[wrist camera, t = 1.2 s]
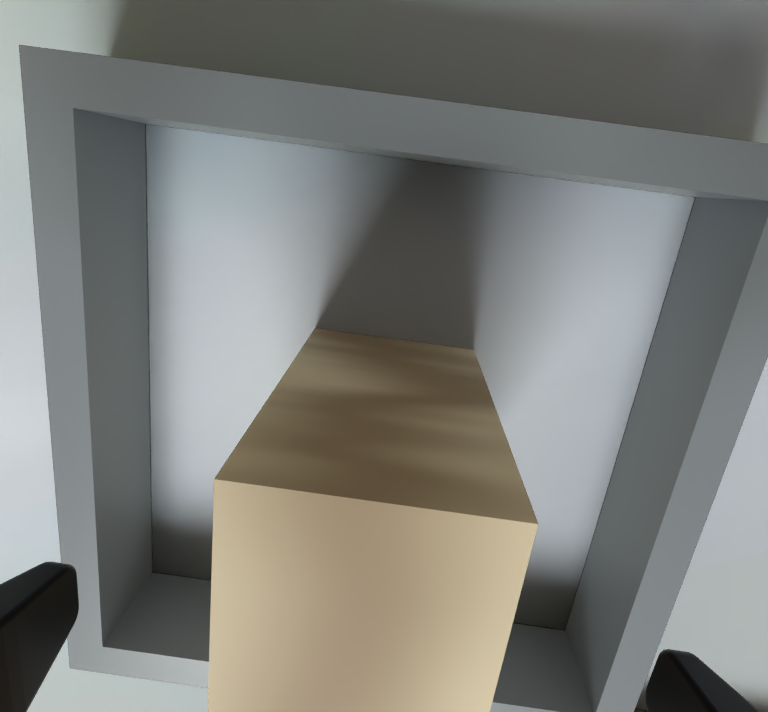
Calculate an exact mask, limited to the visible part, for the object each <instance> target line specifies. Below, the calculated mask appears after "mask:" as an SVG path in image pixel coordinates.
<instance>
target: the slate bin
mask: <svg viewBox="0 0 768 712" xmlns="http://www.w3.org/2000/svg"><path fill="white" fill-rule="evenodd" d="M19 52H20V64H21V77H22V89H23V101H24V113H25V126H26V138H27V150H28V162H29V175H30V187H31V199H32V211H33V224H34V236H35V248H36V260H37V273H38V285H39V297H40V309H41V322H42V334H43V346H44V358H45V371H46V383H47V395H48V408H49V420H50V432H51V444H52V457H53V469H54V481H55V493H56V506H57V518H58V530H59V542H60V555H61V563H63V564H70V565H72V566H74V567H75V569H76V573H77V584H78V598H79V611H78V616H77V619H76V621H75V624H74V626H73V628H72V629H71V631H70V633H69V635H68V637H67V640H68V653H69V665H70V669H77V670H84V671H91V672H98V673H105V674H112V675H119V676H126V677H133V678H140V679H147V680H154V681H161V682H168V683H175V684H182V685H189V686H196V687H204V688H208V679H209V643H210V608H211V581H209V580H202V579H195V578H188V577H181V576H174V575H167V574H159V573H152V533H151V468H150V403H149V338H148V273H147V208H146V143H145V124H150V125H158V126H165V127H173V128H180V129H188V130H195V131H203V132H210V133H218V134H225V135H233V136H240V137H248V138H255V139H263V140H270V141H278V142H285V143H293V144H300V145H308V146H315V147H323V148H330V149H338V150H345V151H353V152H360V153H368V154H375V155H383V156H390V157H398V158H405V159H413V160H420V161H428V162H435V163H443V164H450V165H458V166H465V167H473V168H480V169H488V170H495V171H503V172H510V173H518V174H525V175H533V176H540V177H548V178H555V179H563V180H570V181H578V182H585V183H593V184H600V185H608V186H615V187H623V188H630V189H638V190H645V191H653V192H660V193H668V194H675V195H683V196H690V197H696V198H695V201H694V204H693V208H692V211H691V214H690V218H689V221H688V224H687V228H686V231H685V234H684V238H683V241H682V244H681V247H680V251H679V254H678V257H677V261H676V264H675V267H674V271H673V274H672V277H671V281H670V284H669V287H668V291H667V294H666V297H665V301H664V304H663V307H662V311H661V314H660V317H659V321H658V324H657V327H656V331H655V334H654V337H653V341H652V344H651V347H650V350H649V354H648V357H647V360H646V364H645V367H644V370H643V374H642V377H641V380H640V384H639V387H638V390H637V394H636V397H635V400H634V404H633V407H632V410H631V414H630V417H629V420H628V424H627V427H626V430H625V434H624V437H623V440H622V444H621V447H620V450H619V453H618V457H617V460H616V463H615V467H614V470H613V473H612V477H611V480H610V483H609V487H608V490H607V493H606V497H605V500H604V503H603V507H602V510H601V513H600V517H599V520H598V523H597V527H596V530H595V533H594V537H593V540H592V543H591V547H590V550H589V553H588V556H587V560H586V563H585V566H584V570H583V573H582V576H581V580H580V583H579V586H578V590H577V593H576V596H575V600H574V603H573V606H572V610H571V613H570V616H569V620H568V623H567V626H566V630H565V631H564V630H557V629H550V628H543V627H536V626H529V625H521V624H514V623H513V624H512V628H511V632H510V636H509V640H508V643H507V647H506V651H505V655H504V659H503V663H502V667H501V671H500V674H499V678H498V682H497V686H496V690H495V694H494V698H493V701H492V705H491V709H490V712H634V710H635V707H636V705H637V702H638V699H639V697H640V694H641V691H642V689H643V686H644V684H645V681H646V678H647V676H648V673H649V670H650V668H651V665H652V662H653V660H654V657H655V654H656V652H657V649H658V646H659V644H660V641H661V638H662V636H663V633H664V630H665V628H666V625H667V623H668V620H669V617H670V615H671V612H672V609H673V607H674V604H675V601H676V599H677V596H678V593H679V591H680V588H681V585H682V583H683V580H684V577H685V575H686V572H687V569H688V567H689V564H690V562H691V559H692V556H693V554H694V551H695V548H696V546H697V543H698V540H699V538H700V535H701V532H702V530H703V527H704V524H705V522H706V519H707V516H708V514H709V511H710V508H711V506H712V503H713V501H714V498H715V495H716V493H717V490H718V487H719V485H720V482H721V479H722V477H723V474H724V471H725V469H726V466H727V463H728V461H729V458H730V455H731V453H732V450H733V448H734V445H735V442H736V440H737V437H738V434H739V432H740V429H741V426H742V424H743V421H744V418H745V416H746V413H747V410H748V408H749V405H750V402H751V400H752V397H753V394H754V392H755V389H756V387H757V384H758V381H759V379H760V376H761V373H762V371H763V368H764V365H765V363H766V360H767V357H768V144H766V143H758V142H751V141H743V140H736V139H728V138H721V137H713V136H706V135H698V134H690V133H683V132H675V131H668V130H660V129H653V128H645V127H637V126H630V125H622V124H615V123H607V122H600V121H592V120H585V119H577V118H569V117H562V116H554V115H547V114H539V113H532V112H524V111H517V110H509V109H501V108H494V107H486V106H479V105H471V104H464V103H456V102H448V101H441V100H433V99H426V98H418V97H411V96H403V95H396V94H388V93H380V92H373V91H365V90H358V89H350V88H343V87H335V86H327V85H320V84H312V83H305V82H297V81H290V80H282V79H275V78H267V77H259V76H252V75H244V74H237V73H229V72H222V71H214V70H207V69H199V68H191V67H184V66H176V65H169V64H161V63H154V62H146V61H138V60H131V59H123V58H116V57H108V56H101V55H93V54H86V53H78V52H70V51H63V50H55V49H48V48H40V47H33V46H25V45H19Z"/></svg>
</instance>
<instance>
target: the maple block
mask: <svg viewBox="0 0 768 712" xmlns="http://www.w3.org/2000/svg"><path fill="white" fill-rule="evenodd" d="M537 528H538V522H537V519H536V516H535V514H534V511H533V508H532V506H531V503H530V500H529V498H528V495H527V492H526V489H525V487H524V484H523V481H522V479H521V476H520V473H519V471H518V468H517V465H516V463H515V460H514V457H513V454H512V452H511V449H510V446H509V444H508V441H507V438H506V436H505V433H504V430H503V427H502V425H501V422H500V419H499V417H498V414H497V411H496V409H495V406H494V403H493V401H492V398H491V395H490V392H489V390H488V387H487V384H486V382H485V379H484V376H483V374H482V371H481V368H480V365H479V363H478V360H477V357H476V355H475V352H474V350H472V349H464V348H457V347H450V346H442V345H435V344H428V343H420V342H413V341H406V340H398V339H391V338H384V337H376V336H369V335H362V334H354V333H347V332H340V331H332V330H325V329H318V328H315V329H314V331H313V332H312V334H311V335H310V337H309V338H308V340H307V341H306V343H305V344H304V346H303V347H302V349H301V350H300V352H299V353H298V355H297V356H296V358H295V359H294V361H293V362H292V364H291V365H290V367H289V368H288V370H287V371H286V373H285V374H284V376H283V377H282V379H281V380H280V382H279V383H278V385H277V386H276V388H275V389H274V391H273V392H272V393H271V395H270V396H269V398H268V399H267V401H266V402H265V404H264V405H263V407H262V408H261V410H260V411H259V413H258V414H257V416H256V417H255V419H254V420H253V422H252V423H251V425H250V426H249V428H248V429H247V431H246V432H245V434H244V435H243V437H242V438H241V440H240V441H239V443H238V444H237V446H236V447H235V449H234V450H233V452H232V453H231V455H230V456H229V458H228V459H227V461H226V462H225V464H224V465H223V467H222V468H221V470H220V471H219V473H218V474H217V476H216V477H215V479H214V502H213V537H212V573H211V608H210V643H209V679H208V712H490V709H491V705H492V701H493V698H494V694H495V690H496V686H497V682H498V678H499V674H500V671H501V667H502V663H503V659H504V655H505V651H506V647H507V643H508V640H509V636H510V632H511V628H512V624H513V620H514V616H515V613H516V609H517V605H518V601H519V597H520V593H521V589H522V586H523V582H524V578H525V574H526V570H527V566H528V562H529V559H530V555H531V551H532V547H533V543H534V539H535V535H536V532H537Z"/></svg>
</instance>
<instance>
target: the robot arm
mask: <svg viewBox="0 0 768 712" xmlns="http://www.w3.org/2000/svg"><path fill="white" fill-rule="evenodd" d="M78 611H79V598H78V584H77V573H76V569H75V567H74V566H72V565H70V564H63V563H56V562H45V563H42V564H40V565H38V566H36V567H34V568H32V569H30V570H28V571H26V572H24V573H22V574H20V575H18V576H16V577H14V578H12V579H10V580H8V581H6V582H4V583H2V584H0V712H27V710H28V708H29V706H30V704H31V702H32V701H33V699H34V697H35V695H36V693H37V691H38V690H39V688H40V686H41V684H42V682H43V680H44V679H45V677H46V675H47V673H48V671H49V670H50V668H51V666H52V664H53V662H54V660H55V659H56V657H57V655H58V653H59V651H60V649H61V648H62V646H63V644H64V642H65V640H66V638H67V637H68V635H69V633H70V631H71V629H72V628H73V626H74V624H75V621H76V619H77V616H78ZM646 705H647V709H648V712H760V711H758V710H757V709H756V708H755V707H754V706H753V705H752V704H750V703H749V702H748V701H747V700H746V699H745V698H744V697H742V696H741V695H740V694H739V693H738V692H737V691H735V690H734V689H733V688H732V687H731V686H730V685H729V684H727V683H726V682H725V681H724V680H723V679H722V678H721V677H719V676H718V675H717V674H716V673H715V672H714V671H713V670H711V669H710V668H709V667H708V666H707V665H706V664H704V663H703V662H702V661H701V660H700V659H699V658H698V657H696V656H695V655H693V654H692V653H689V652H683V651H677V650H670V649H666V650H663V651H662V652H661V653H660V654H659V656H658V659H657V661H656V664H655V667H654V669H653V672H652V675H651V677H650V680H649V683H648V685H647V689H646Z"/></svg>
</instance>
